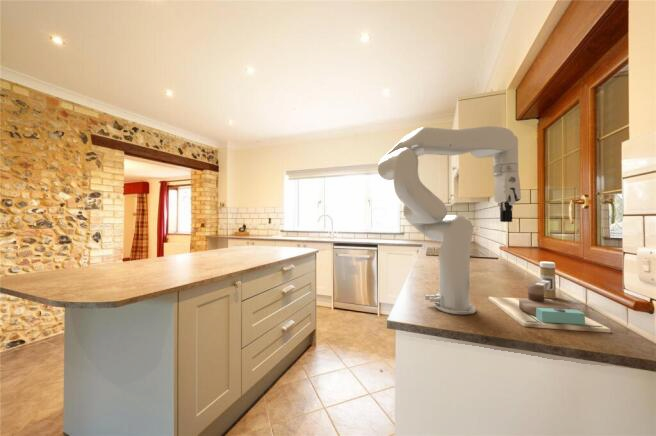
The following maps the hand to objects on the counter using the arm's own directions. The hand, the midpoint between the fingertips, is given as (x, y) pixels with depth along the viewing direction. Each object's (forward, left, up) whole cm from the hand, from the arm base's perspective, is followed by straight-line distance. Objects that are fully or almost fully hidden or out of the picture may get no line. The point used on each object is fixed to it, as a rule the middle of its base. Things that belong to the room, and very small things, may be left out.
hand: (506, 221), depth 92 cm
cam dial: (+7, -7, -28) cm, 29 cm away
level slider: (+5, -19, -28) cm, 34 cm away
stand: (+5, -10, -29) cm, 31 cm away
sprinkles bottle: (+18, +10, -29) cm, 36 cm away
